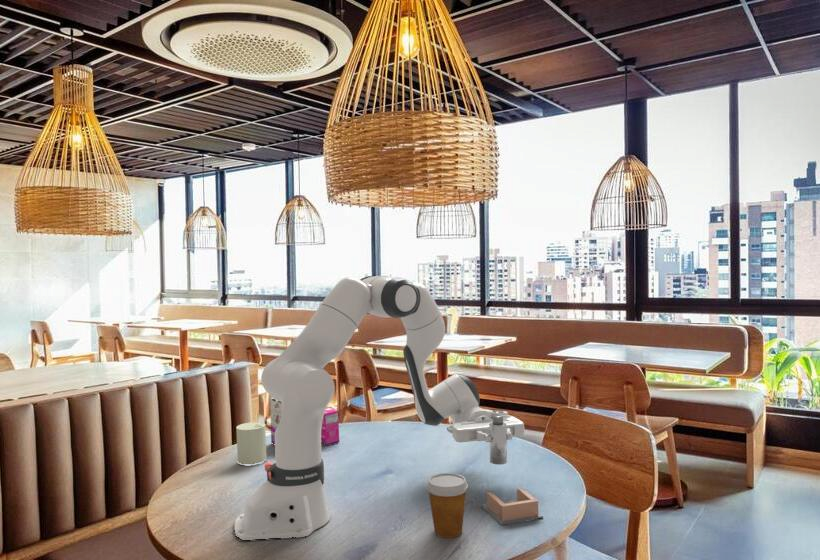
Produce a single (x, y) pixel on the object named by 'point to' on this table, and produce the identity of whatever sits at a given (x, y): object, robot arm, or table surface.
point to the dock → (512, 508)
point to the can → (251, 442)
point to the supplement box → (330, 427)
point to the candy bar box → (275, 416)
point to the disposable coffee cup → (447, 503)
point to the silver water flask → (498, 440)
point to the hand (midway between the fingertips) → (499, 437)
